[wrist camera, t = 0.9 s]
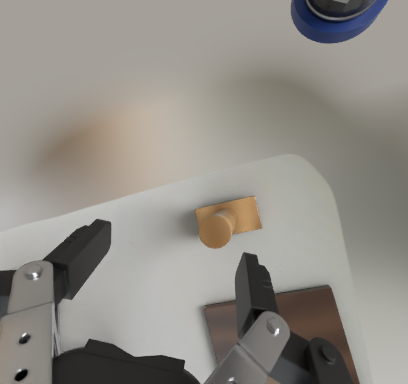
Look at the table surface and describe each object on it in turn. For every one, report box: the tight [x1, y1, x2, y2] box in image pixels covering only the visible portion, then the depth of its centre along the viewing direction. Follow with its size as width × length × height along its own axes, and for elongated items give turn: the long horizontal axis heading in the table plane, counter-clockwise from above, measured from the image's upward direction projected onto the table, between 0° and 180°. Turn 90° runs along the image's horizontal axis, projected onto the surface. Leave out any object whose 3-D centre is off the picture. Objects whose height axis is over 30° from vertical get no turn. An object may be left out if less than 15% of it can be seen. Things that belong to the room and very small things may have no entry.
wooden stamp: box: [195, 196, 262, 249], centre depth 25 cm, size 8×4×14 cm, turn 103°
